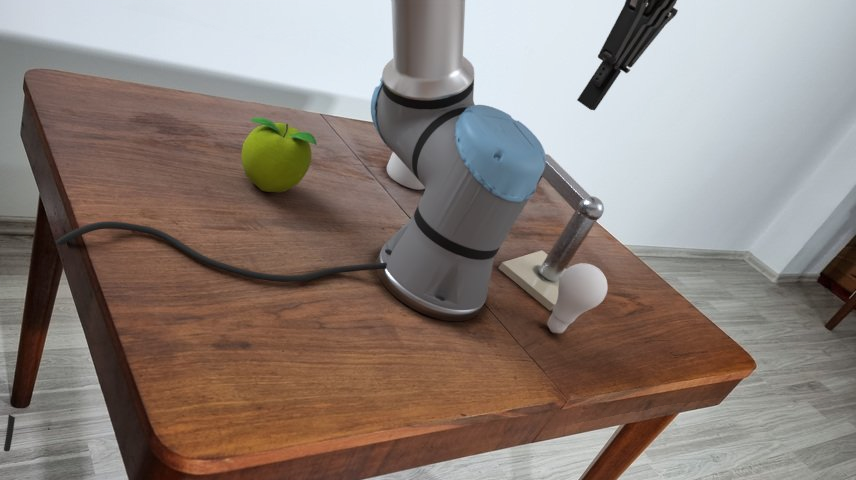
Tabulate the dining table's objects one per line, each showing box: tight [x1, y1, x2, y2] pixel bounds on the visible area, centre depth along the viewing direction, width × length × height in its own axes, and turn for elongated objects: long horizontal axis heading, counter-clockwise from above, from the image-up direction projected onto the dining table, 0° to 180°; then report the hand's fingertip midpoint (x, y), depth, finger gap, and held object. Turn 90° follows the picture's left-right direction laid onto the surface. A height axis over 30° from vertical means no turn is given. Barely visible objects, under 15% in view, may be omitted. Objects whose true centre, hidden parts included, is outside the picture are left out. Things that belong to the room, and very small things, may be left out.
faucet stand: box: [498, 249, 567, 311], centre depth 107 cm, size 12×10×1 cm
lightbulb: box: [546, 262, 608, 334], centre depth 94 cm, size 6×6×11 cm
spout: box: [537, 153, 605, 281], centre depth 107 cm, size 16×4×14 cm, turn 20°
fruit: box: [240, 116, 317, 193], centre depth 97 cm, size 9×9×10 cm
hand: (585, 105), depth 106 cm, fingers closed
